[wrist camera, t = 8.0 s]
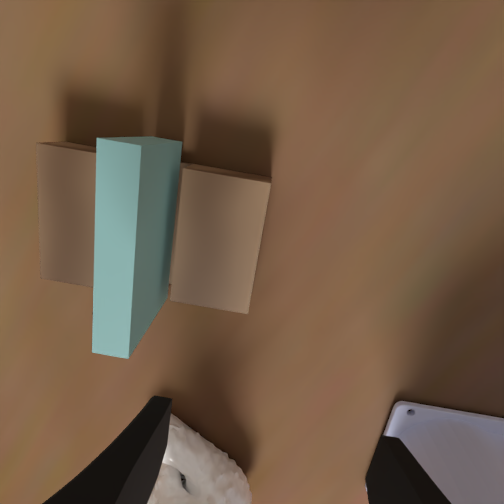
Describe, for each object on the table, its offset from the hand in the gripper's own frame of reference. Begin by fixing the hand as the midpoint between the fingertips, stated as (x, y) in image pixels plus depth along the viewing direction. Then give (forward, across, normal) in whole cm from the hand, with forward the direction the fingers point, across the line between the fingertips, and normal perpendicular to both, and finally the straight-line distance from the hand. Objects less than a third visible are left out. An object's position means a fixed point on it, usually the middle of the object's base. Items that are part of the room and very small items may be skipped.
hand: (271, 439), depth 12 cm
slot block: (+10, +7, -4) cm, 13 cm away
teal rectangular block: (+9, +7, -4) cm, 12 cm away
